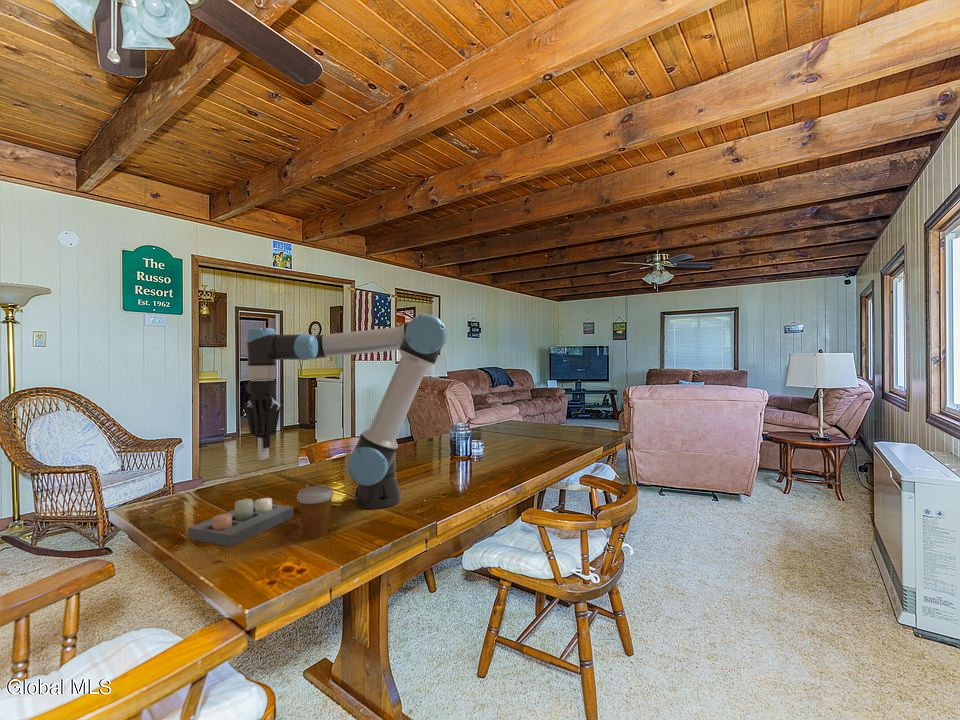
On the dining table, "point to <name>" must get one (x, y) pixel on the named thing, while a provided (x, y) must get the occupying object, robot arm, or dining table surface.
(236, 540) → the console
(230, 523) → the terracotta button
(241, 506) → the sage button
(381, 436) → the robot arm
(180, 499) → the dining table surface
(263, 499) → the cream short cylinder
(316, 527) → the disposable coffee cup
